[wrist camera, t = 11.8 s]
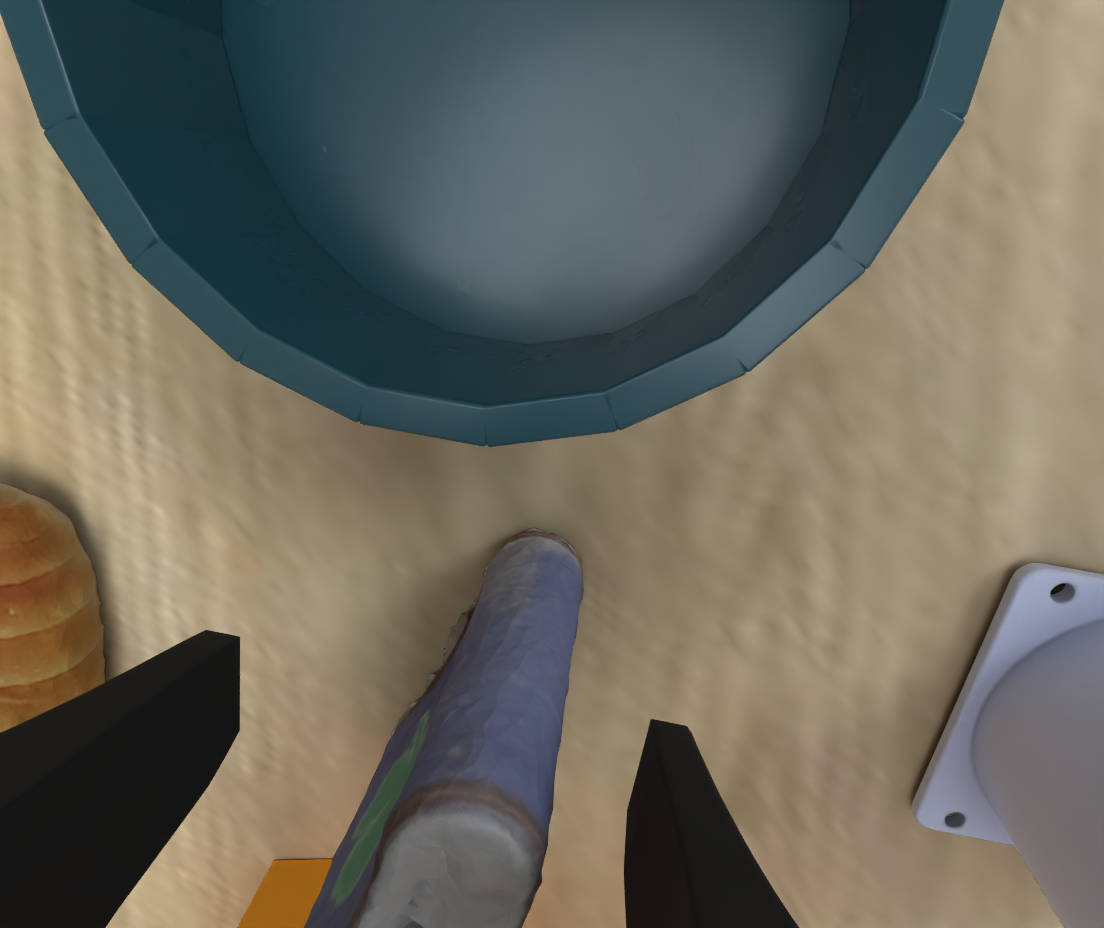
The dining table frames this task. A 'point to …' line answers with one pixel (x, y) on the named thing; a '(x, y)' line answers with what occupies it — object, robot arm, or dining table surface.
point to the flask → (469, 763)
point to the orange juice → (286, 894)
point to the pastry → (44, 610)
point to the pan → (500, 184)
